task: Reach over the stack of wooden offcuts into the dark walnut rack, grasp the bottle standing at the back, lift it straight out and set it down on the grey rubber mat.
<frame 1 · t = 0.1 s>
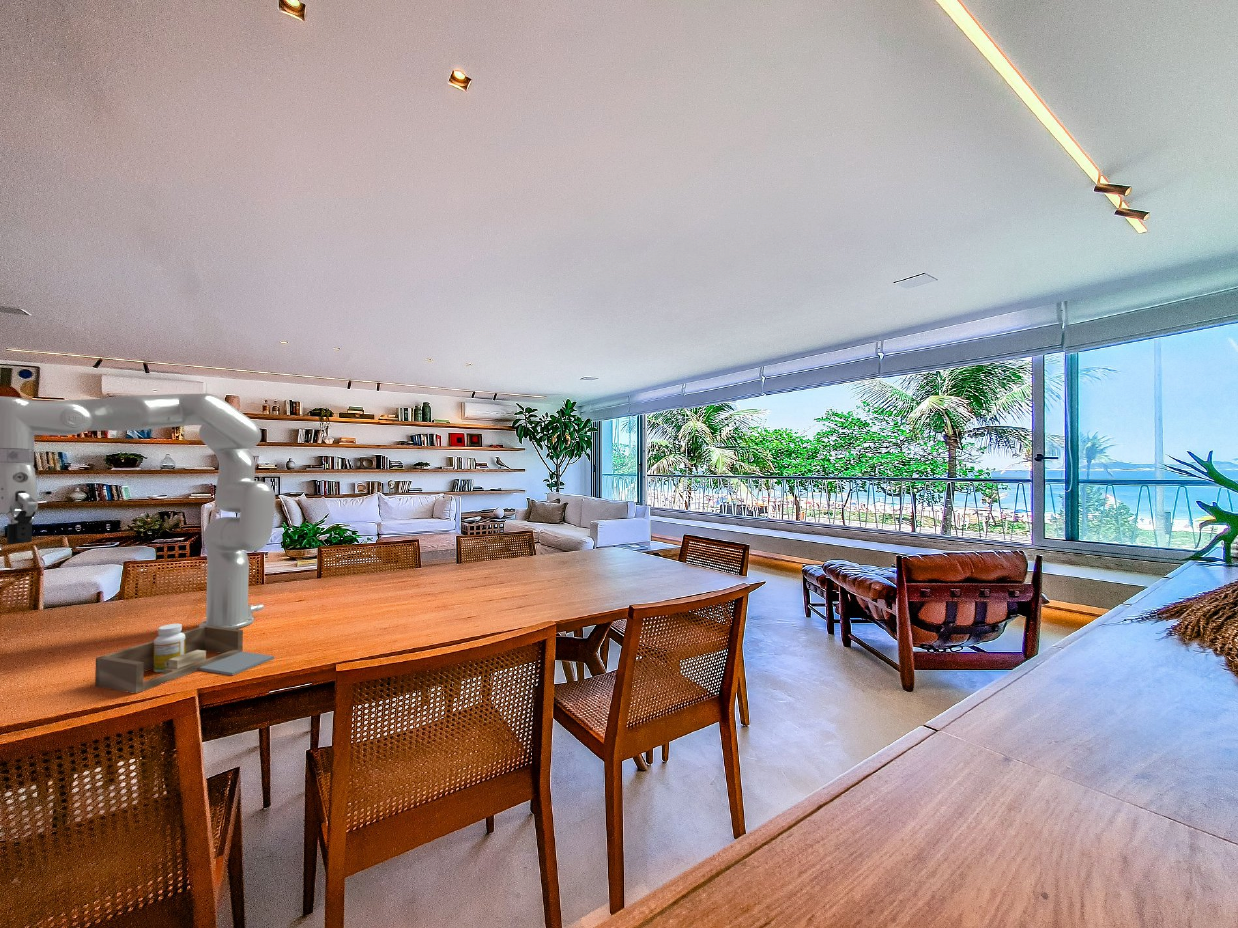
hand: (3, 541, 98), 31 cm above the table, tool pointing down, fingers open, 9 cm apart
offcut lower: (185, 672, 111), on the table, touching offcut upper
rack: (174, 668, 112), on the table
mat: (237, 664, 115), on the table
offcut upper: (187, 662, 112), point 2 cm above the table, touching offcut lower
supplement bottle: (169, 668, 113), on the table
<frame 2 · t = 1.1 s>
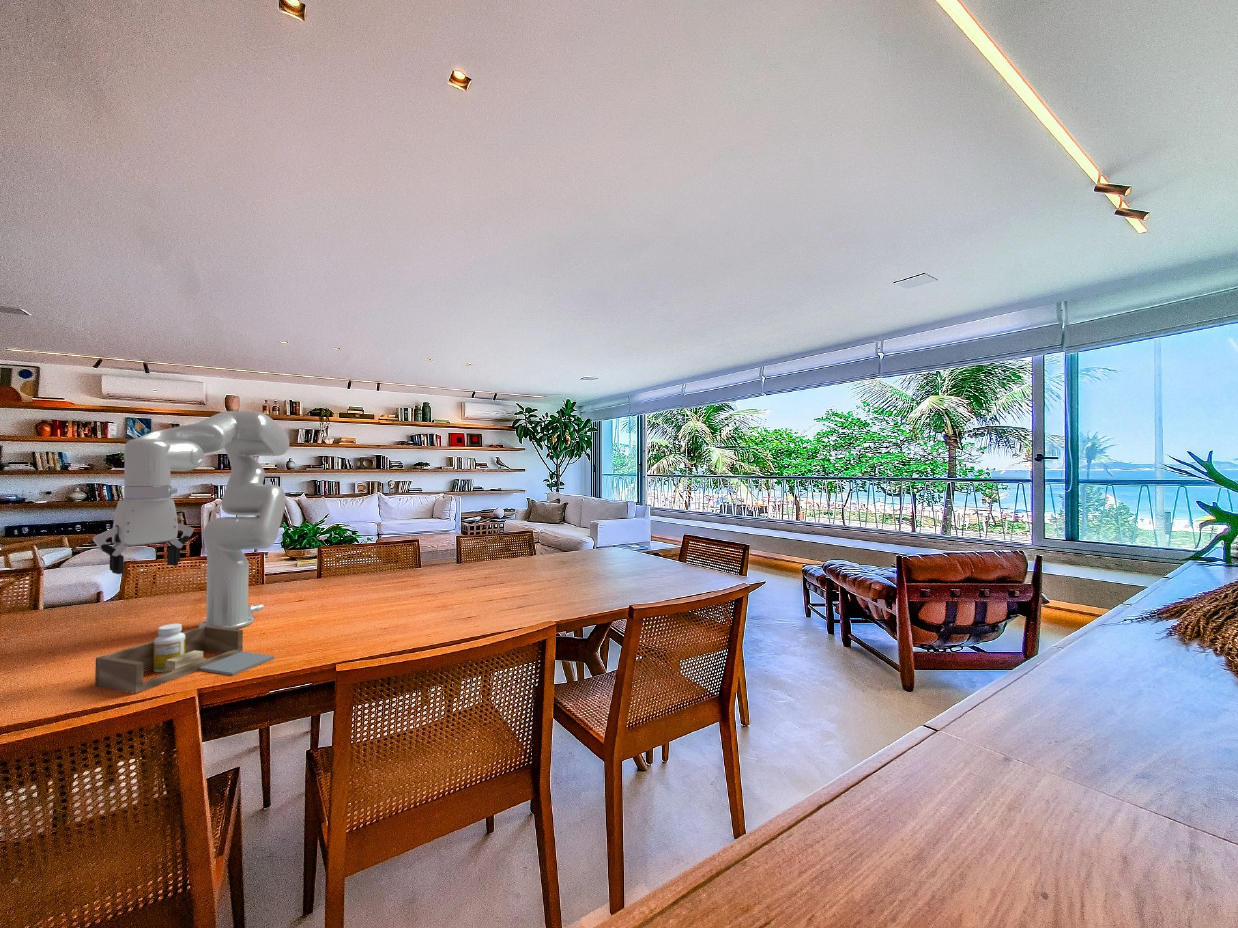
hand: (146, 568, 110), 23 cm above the table, tool pointing down, fingers open, 9 cm apart
nothing on the table moved.
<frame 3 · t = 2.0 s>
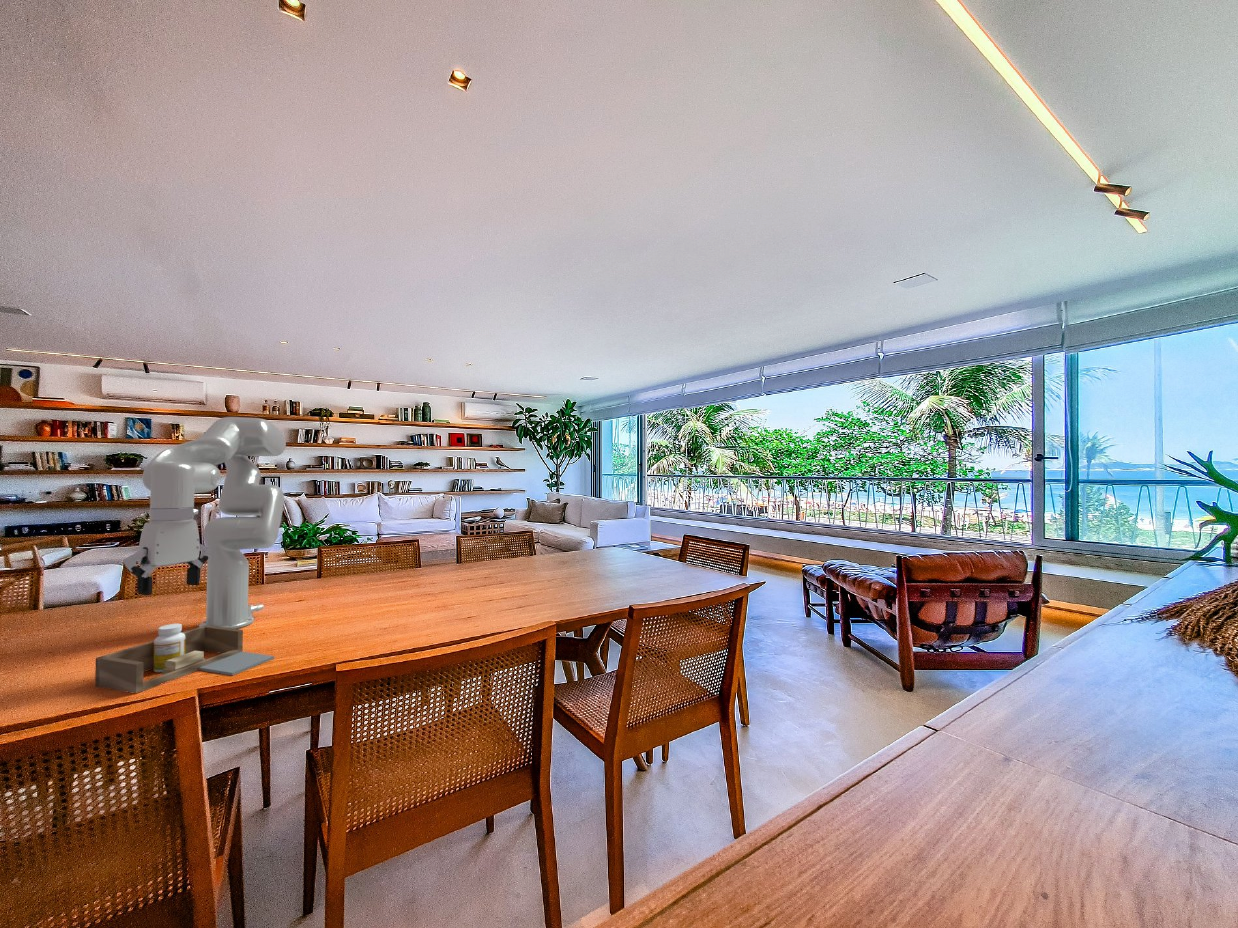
hand: (169, 589, 112), 18 cm above the table, tool pointing down, fingers open, 9 cm apart
offcut lower: (184, 672, 111), on the table
offcut upper: (185, 663, 111), point 2 cm above the table
everything else where it was.
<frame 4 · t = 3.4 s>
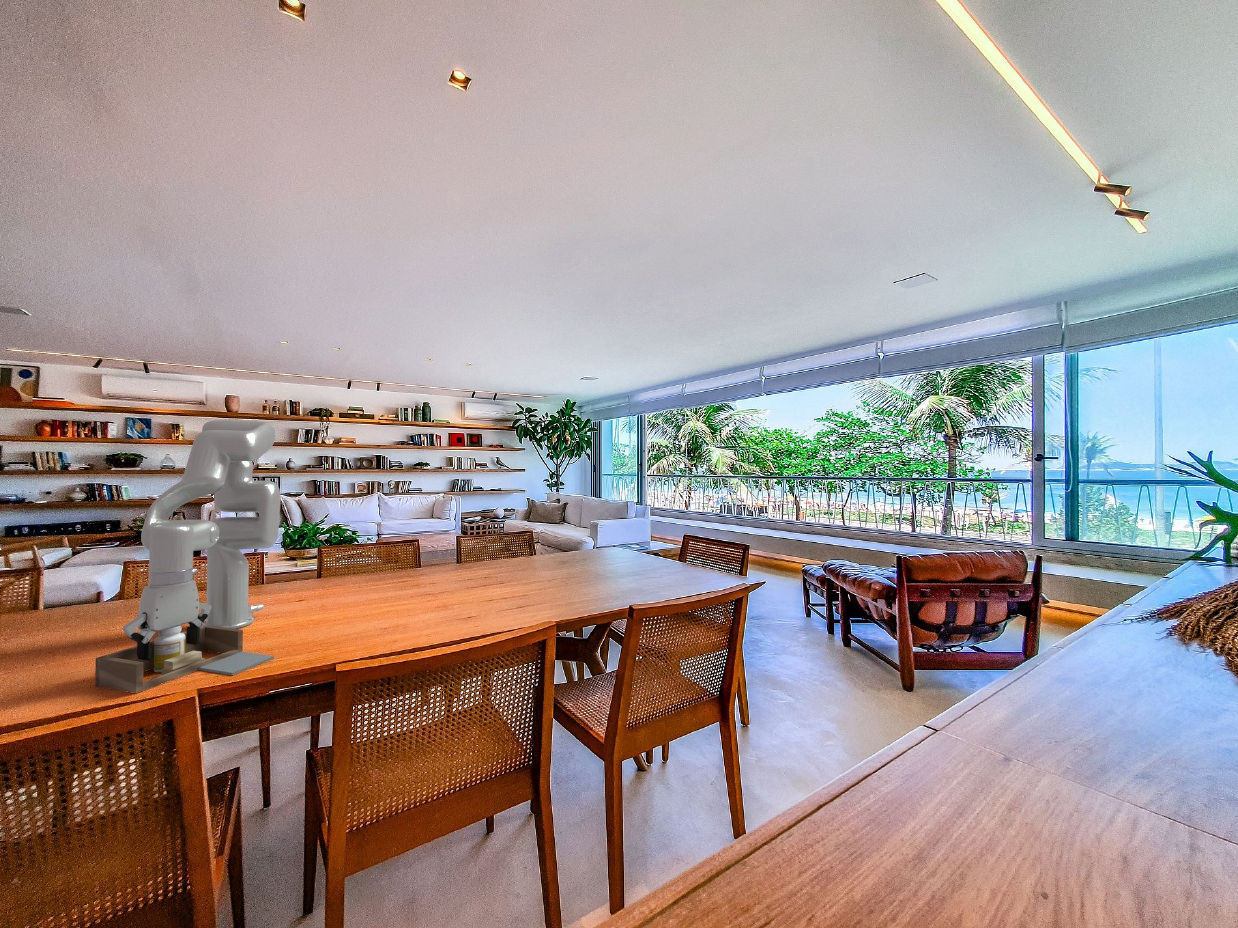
hand: (169, 651, 112), 4 cm above the table, tool pointing down, fingers open, 9 cm apart
offcut lower: (183, 672, 111), on the table, touching offcut upper
offcut upper: (183, 663, 111), point 2 cm above the table, touching offcut lower
everything else where it was.
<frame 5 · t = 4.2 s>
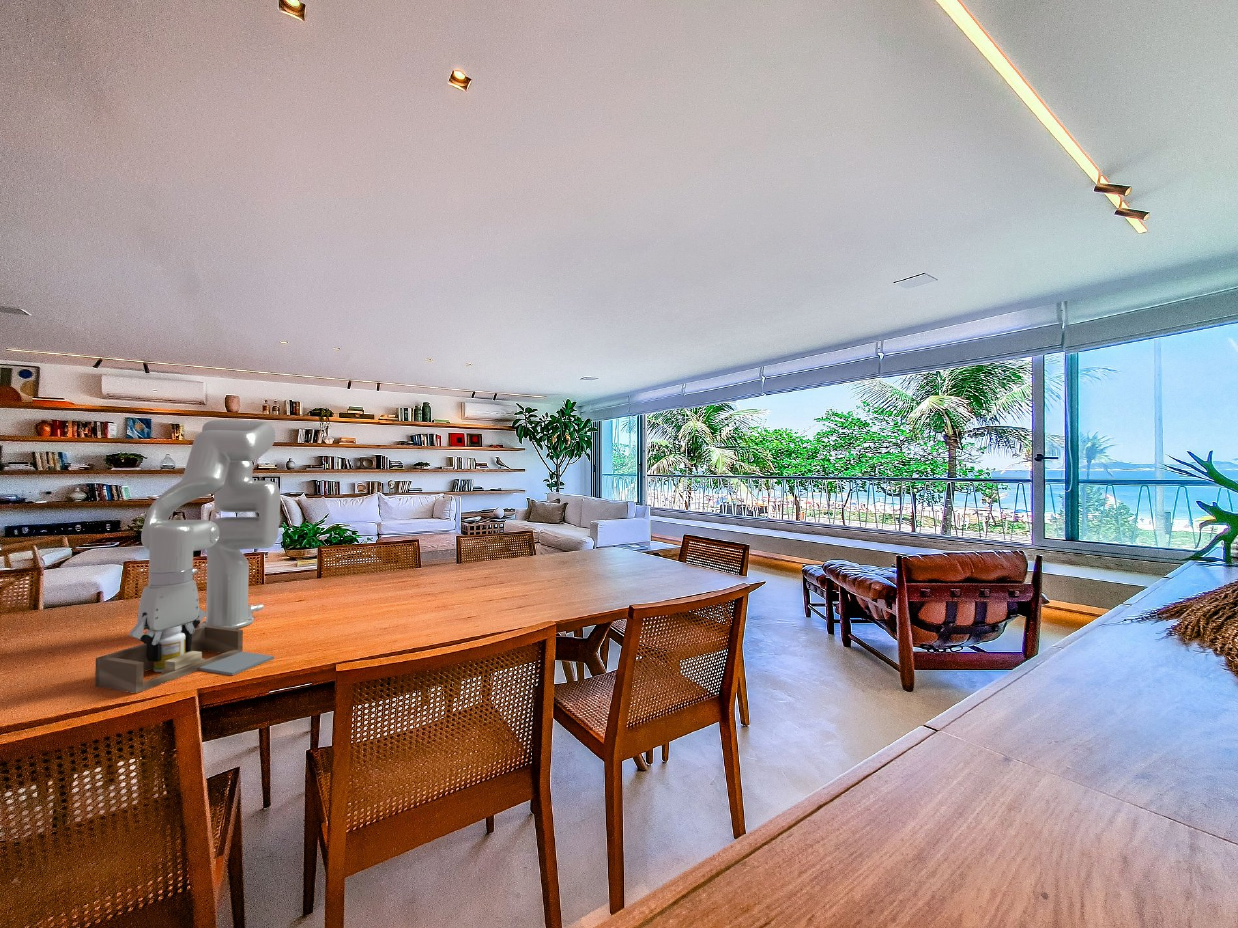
hand: (169, 654, 113), 3 cm above the table, tool pointing down, fingers closed on supplement bottle, 5 cm apart
supplement bottle: (169, 668, 113), on the table, touching gripper
everything else where it was.
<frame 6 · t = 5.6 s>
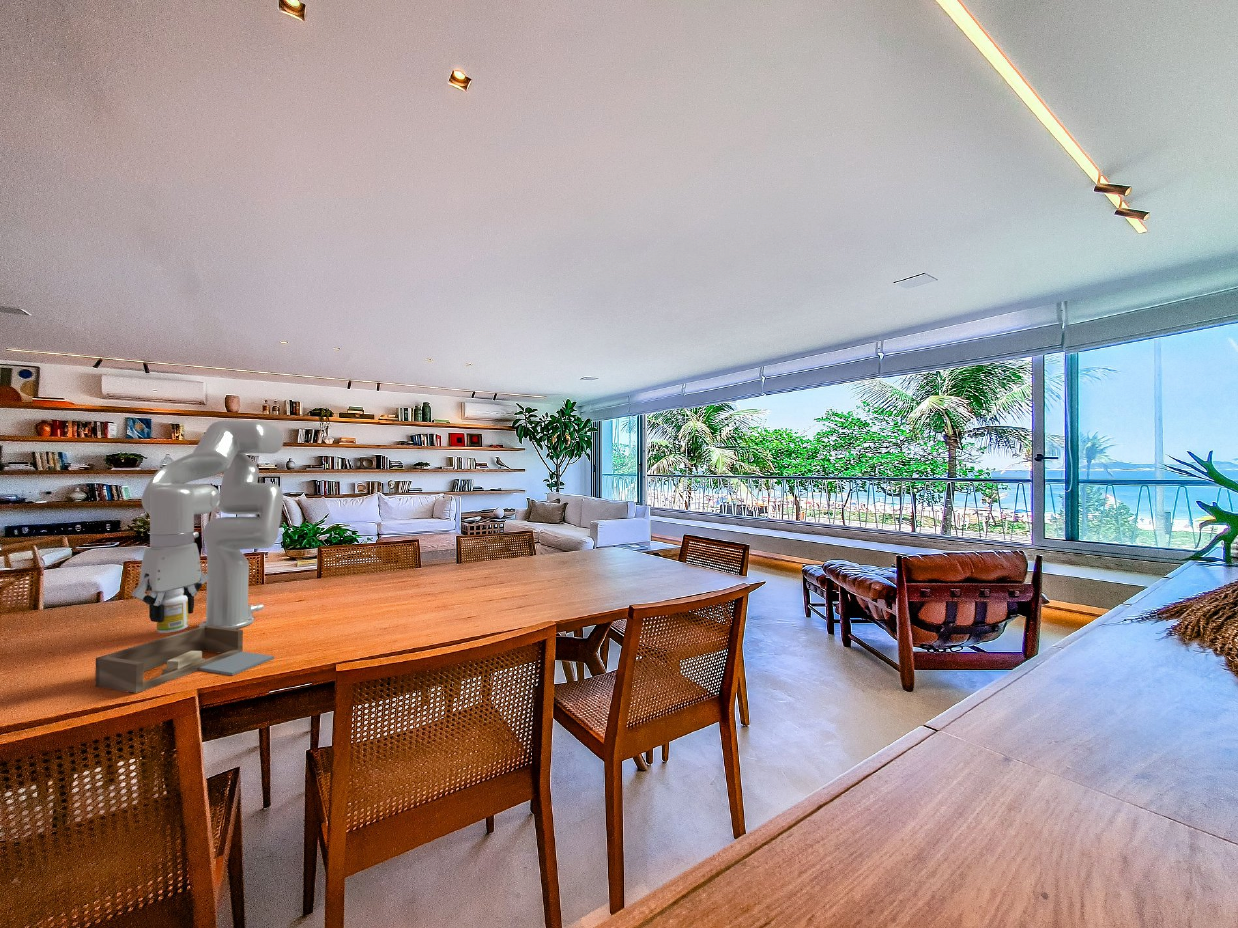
hand: (172, 616, 113), 12 cm above the table, tool pointing down, fingers closed on supplement bottle, 5 cm apart
offcut lower: (183, 672, 111), on the table
offcut upper: (184, 663, 111), point 2 cm above the table
supplement bottle: (172, 630, 113), point 8 cm above the table, touching gripper
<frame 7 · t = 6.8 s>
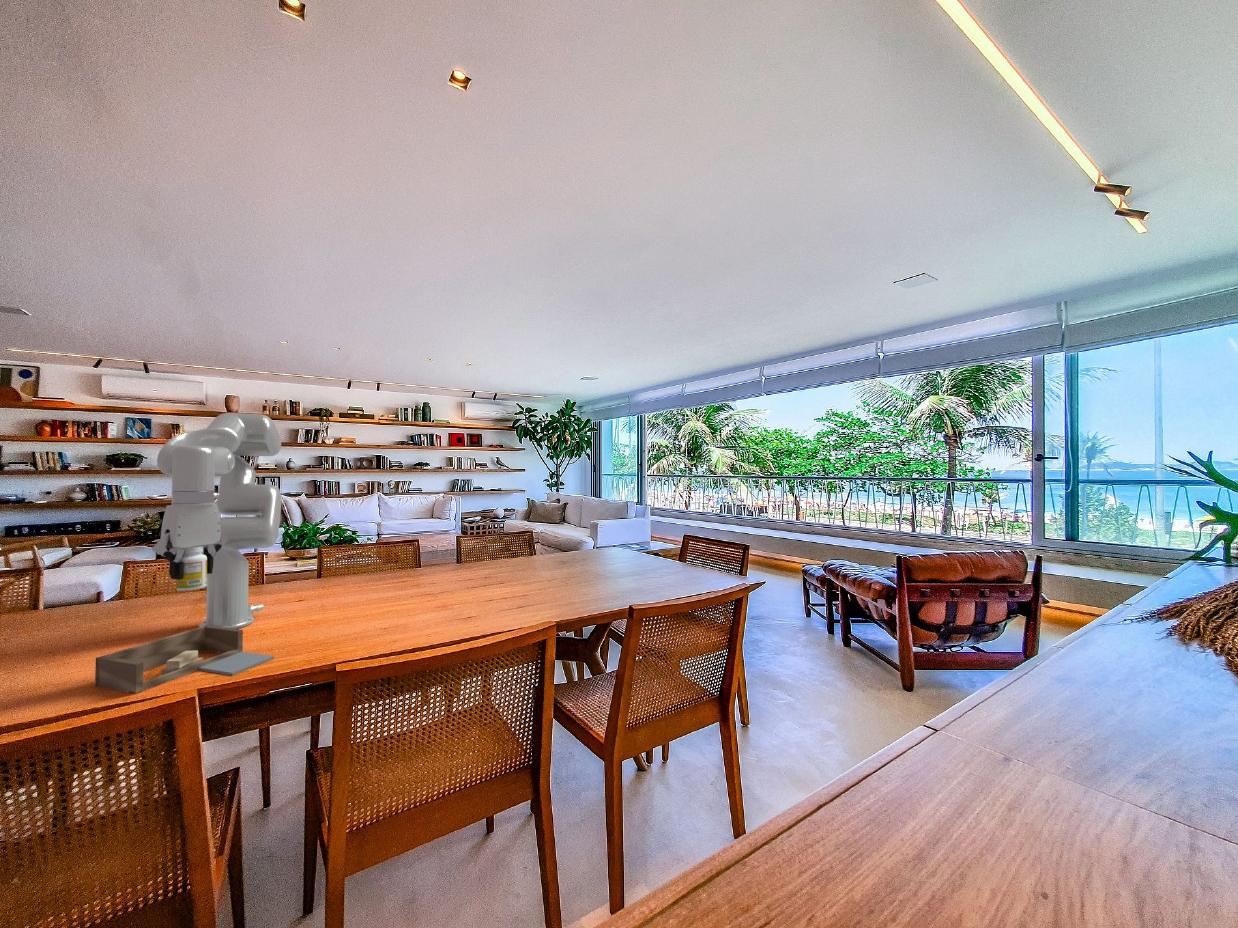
hand: (191, 575, 113), 21 cm above the table, tool pointing down, fingers closed on supplement bottle, 5 cm apart
supplement bottle: (191, 589, 113), point 18 cm above the table, touching gripper
when the fingers open (5 cm above the table, at t = 11.3 s): supplement bottle drops 1 cm, resting on mat.
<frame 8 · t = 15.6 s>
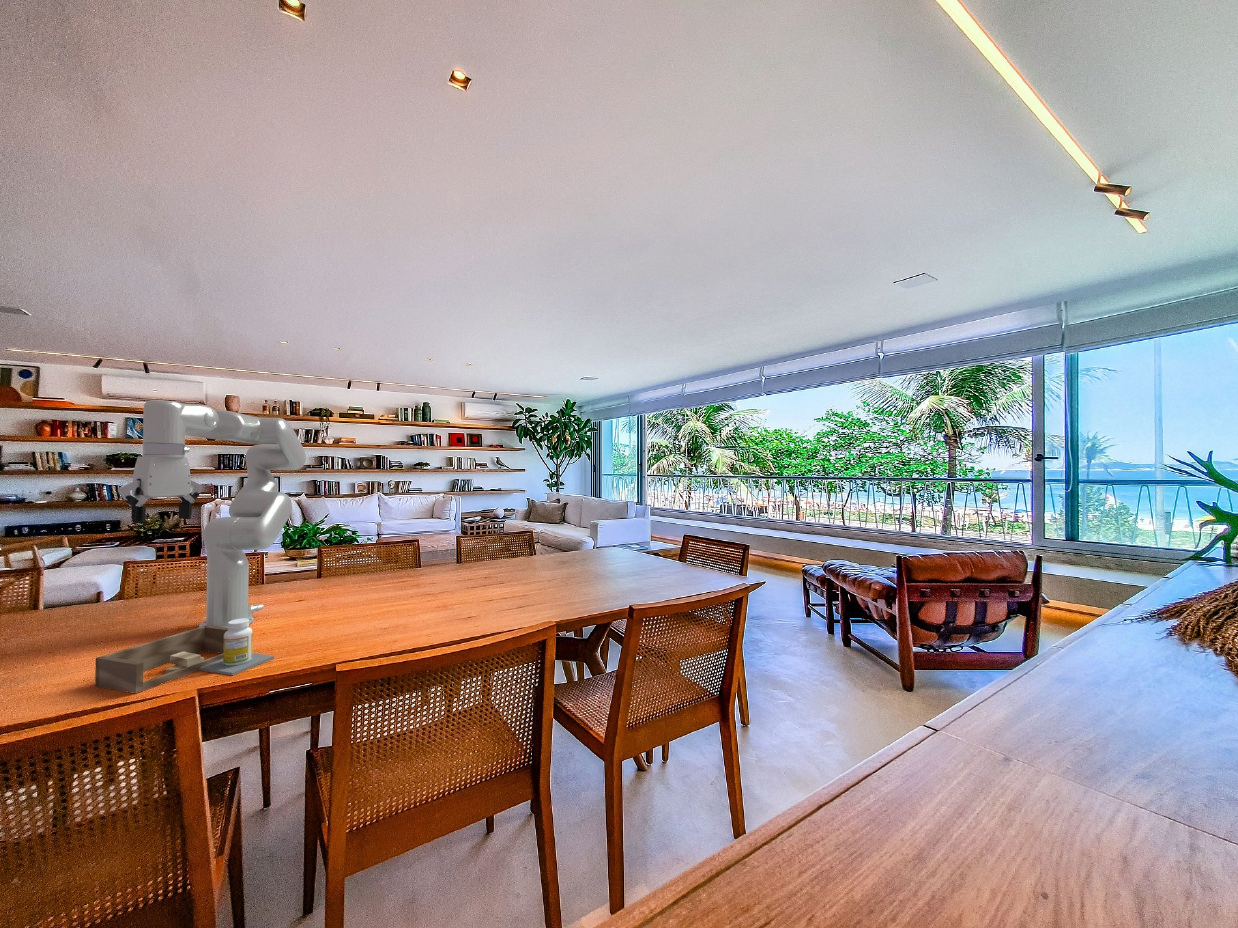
hand: (162, 520, 119), 33 cm above the table, tool pointing down, fingers open, 9 cm apart
supplement bottle: (237, 662, 115), resting on mat
at the end: supplement bottle inside the target area on the mat (0.1 cm from its centre), point 0.4 cm above the mat's base; supplement bottle tilted 1°; the gripper is holding nothing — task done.
